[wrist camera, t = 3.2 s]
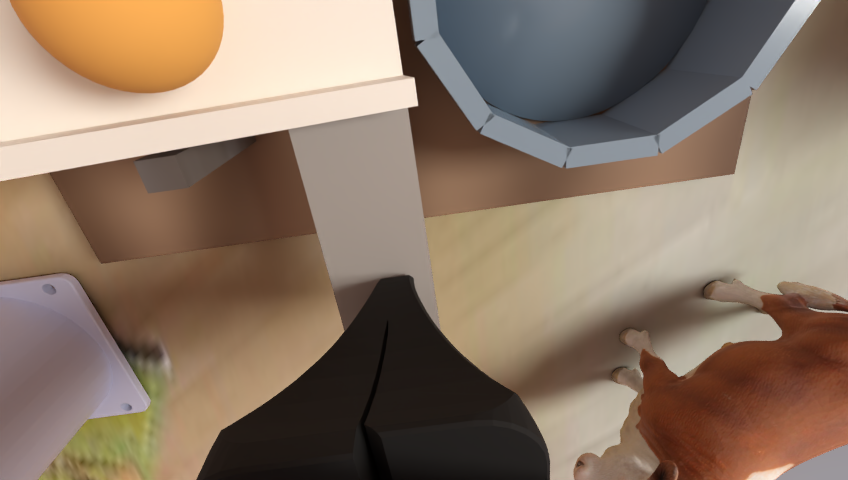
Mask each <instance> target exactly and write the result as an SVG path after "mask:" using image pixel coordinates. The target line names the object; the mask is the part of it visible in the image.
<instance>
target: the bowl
mask: <svg viewBox="0 0 848 480" xmlns="http://www.w3.org/2000/svg"><path fill="white" fill-rule="evenodd" d="M820 1H821V0H407V4H408V12H409V19H410V27H411V34H412V41H418V42H417V43H416V44H414V46H415V47H416V49H417V50H418V51H419V53H420V54H421V56H422V57H423V58H424V60H425V61H426V63H427V64H428V66H429V67H430V68H431V70H432V71H433V73H434V74H435V75H436V77H437V78H438V80H439V81H440V83H441V84H442V85H443V87H444V88H445V90H446V91H447V92H448V94H449V95H450V97H451V98H452V100H453V101H454V102H455V104H456V105H457V107H458V108H459V109H460V111H461V112H462V113H463V115H464V116H465V117H466V118H467V120H468V121H469V122H470V123H471V125H472V126H473V127H474V128H475V130H476V131H478V132H479V133H480V134H482V135H484V136H487V137H489V138H491V139H494V140H496V141H499V142H501V143H503V144H506V145H508V146H510V147H513V148H515V149H518V150H520V151H522V152H525V153H527V154H530V155H532V156H534V157H537V158H539V159H541V160H544V161H546V162H549V163H551V164H553V165H556V166H558V167H560V168H562V167H563V166H564V167H565V168H566V169H567V168H574V167H581V166H588V165H595V164H602V163H609V162H616V161H623V160H630V159H637V158H644V157H651V156H658V152H659V153H664V152H665V151H667V150H668V149H670V148H672V147H673V146H675V145H676V144H678V143H679V142H681V141H682V140H684V139H685V138H687V137H688V136H690V135H691V134H693V133H694V132H696V131H697V130H699V129H700V128H702V127H703V126H705V125H706V124H708V123H709V122H711V121H712V120H714V119H715V118H717V117H718V116H720V115H722V114H723V113H725V112H726V111H728V110H729V109H731V108H732V107H734V106H735V105H737V104H738V103H740V102H741V101H743V100H744V99H746V98H747V97H749V96H750V95H752V91H751V89H753V90H757V89H758V87H759V86H760V85H761V83H762V82H763V80H764V79H765V78H766V76H767V75H768V73H769V72H770V71H771V69H772V68H773V67H774V65H775V64H776V62H777V61H778V60H779V58H780V57H781V55H782V54H783V53H784V51H785V50H786V48H787V47H788V46H789V44H790V43H791V41H792V40H793V39H794V37H795V36H796V34H797V33H798V32H799V30H800V29H801V27H802V26H803V25H804V23H805V22H806V20H807V19H808V18H809V16H810V15H811V13H812V12H813V11H814V9H815V8H816V6H817V5H818V4H819V2H820ZM669 61H670V62H669ZM667 64H668V65H667ZM666 65H667V66H666ZM665 66H666V68H665V69H664V70H663V71H661V70H662V69H663V68H664V67H665ZM660 71H661V72H660ZM659 72H660V73H659ZM658 73H659V74H658ZM483 99H484V100H486V101H487V102H489V103H490V104H492V105H494V106H495V107H494V106H492V105H490V104H487V103H485V101H484V100H483ZM496 107H497V108H496ZM610 107H611V108H610ZM608 108H609V109H608ZM606 109H608V110H607V111H605V112H604V113H602V114H598V115H592V114H595V113H598V112H601V111H604V110H606ZM512 114H513V115H512ZM515 115H516V116H515ZM589 115H592V116H589ZM517 116H519V117H522V118H527V119H532V120H539V121H550V122H544V123H537V124H533V123H531V122H528V121H526V120H524V119H522V118H519V117H517Z"/></svg>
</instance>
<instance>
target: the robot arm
mask: <svg viewBox="0 0 848 480" xmlns="http://www.w3.org/2000/svg"><path fill="white" fill-rule="evenodd" d="M51 285H52V286H53V287H54V288H53V287H52V286H51ZM150 403H151V400H150V398H149V396H148V395H147V393H146V391H145V390H144V388H143V387H142V385H141V383H140V382H139V380H138V378H137V377H136V375H135V373H134V372H133V370H132V369H131V367H130V365H129V364H128V362H127V360H126V359H125V357H124V355H123V354H122V352H121V350H120V349H119V347H118V346H117V344H116V342H115V341H114V339H113V337H112V336H111V334H110V332H109V331H108V329H107V328H106V326H105V324H104V323H103V321H102V319H101V318H100V316H99V314H98V313H97V311H96V309H95V308H94V306H93V305H92V303H91V301H90V300H89V298H88V296H87V295H86V293H85V291H84V290H83V288H82V287H81V285H80V283H79V282H78V280H77V279H76V278H75V277H73V276H72V275H69V274H66V273H59V274H52V275H45V276H38V277H31V278H24V279H17V280H10V281H3V282H0V480H38V478H39V477H40V476H41V475H42V474H43V472H44V471H45V470H46V469H47V468H48V466H49V465H50V464H51V463H52V462H53V460H54V459H55V458H56V457H57V456H58V454H59V453H60V452H61V451H62V450H63V448H64V447H65V446H66V445H67V444H68V442H69V441H70V440H71V439H72V438H73V436H74V435H75V434H76V433H77V432H78V430H79V429H80V428H81V427H82V426H83V424H84V423H85V422H86V421H87V420H88V419H92V418H100V417H107V416H115V415H122V414H130V413H137V412H143V411H145V410H146V409H147V408H148V407H149V405H150ZM197 480H550V459H549V453H548V449H547V446H546V443H545V441H544V439H543V437H542V435H541V433H540V431H539V429H538V427H537V425H536V423H535V421H534V419H533V418H532V416H531V414H530V413H529V411H528V410H527V408H526V407H525V405H524V403H523V402H522V400H521V399H520V398H519V396H518V395H517V394H516V393H514V392H513V391H511V390H509V389H508V388H506V387H504V386H503V385H501V384H499V383H498V382H496V381H494V380H493V379H492V378H490V377H489V376H488V375H486V374H485V373H483V372H482V371H481V370H479V369H478V368H477V367H476V366H475V365H474V364H472V363H471V362H470V361H469V360H468V359H467V358H466V357H464V356H463V355H462V354H461V353H460V352H459V351H458V350H457V349H456V348H455V347H454V346H453V345H452V344H451V343H450V342H449V340H448V339H447V338H446V337H445V336H444V335H443V333H442V332H441V331H440V330H439V328H438V327H437V326H436V324H435V323H434V322H433V320H432V319H431V317H430V316H429V314H428V313H427V311H426V309H425V307H424V306H423V304H422V302H421V300H420V298H419V296H418V294H417V292H416V289H415V284H414V278H413V277H412V276H410V275H405V276H398V277H391V278H384V279H380V280H379V282H378V283H377V285H376V286H375V288H374V290H373V291H372V293H371V295H370V296H369V298H368V299H367V301H366V302H365V304H364V306H363V307H362V308H361V310H360V311H359V313H358V314H357V316H356V317H355V319H354V320H353V321H352V323H351V324H350V325H349V327H348V328H347V329H346V330H345V332H344V333H343V334H342V335H341V337H340V338H339V339H338V340H337V341H336V343H335V344H334V345H333V346H332V347H331V348H330V349H329V350H328V351H327V352H326V353H325V354H324V355H323V356H322V357H321V358H320V359H319V360H318V361H317V362H316V363H315V364H314V365H313V366H312V367H310V368H309V369H308V370H307V371H306V372H305V373H304V374H302V375H301V376H300V377H299V378H298V379H297V380H296V381H294V382H293V383H292V384H291V385H289V386H288V387H287V388H285V389H284V390H283V391H281V392H280V393H279V394H277V395H276V396H275V397H273V398H272V399H270V400H269V401H268V402H266V403H265V404H263V405H262V406H260V407H259V408H257V409H256V410H254V411H252V412H251V413H249V414H248V415H246V416H244V417H243V418H241V419H239V420H238V421H236V422H235V423H233V424H231V425H230V426H228V427H226V428H225V429H223V430H221V432H220V433H219V435H218V437H217V439H216V441H215V442H214V444H213V446H212V448H211V450H210V452H209V454H208V456H207V458H206V460H205V463H204V465H203V467H202V469H201V471H200V473H199V475H198V477H197Z"/></svg>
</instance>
